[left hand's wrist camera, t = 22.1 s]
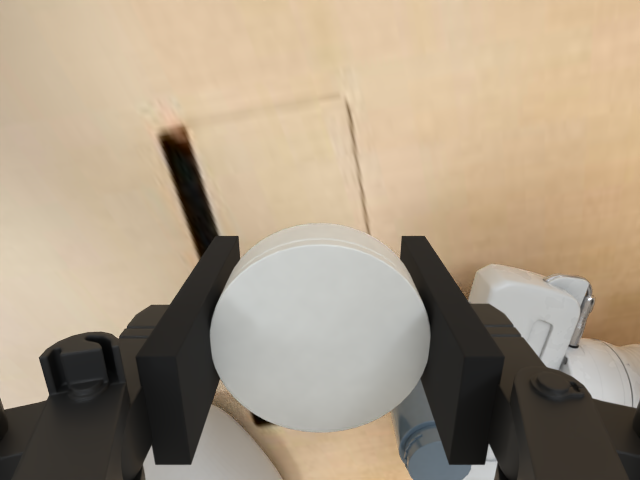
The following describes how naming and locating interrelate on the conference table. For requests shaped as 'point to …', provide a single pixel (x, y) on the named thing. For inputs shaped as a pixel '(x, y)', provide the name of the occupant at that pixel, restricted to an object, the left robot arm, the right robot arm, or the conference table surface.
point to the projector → (218, 455)
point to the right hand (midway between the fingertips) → (399, 371)
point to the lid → (320, 329)
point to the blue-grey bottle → (422, 440)
